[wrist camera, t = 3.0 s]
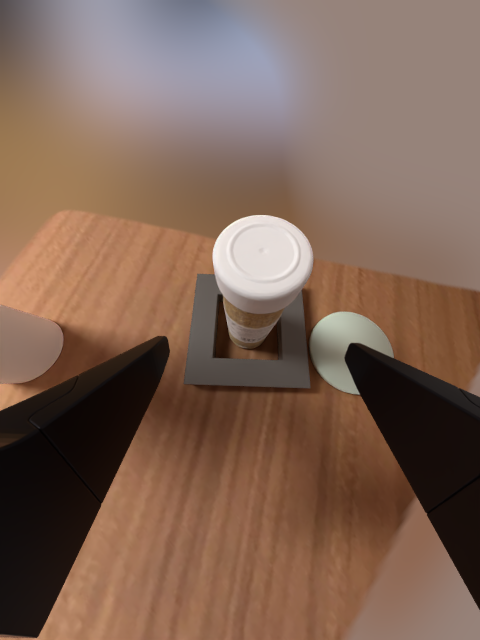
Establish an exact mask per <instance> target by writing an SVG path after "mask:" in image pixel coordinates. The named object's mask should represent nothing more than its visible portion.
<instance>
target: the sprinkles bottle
mask: <svg viewBox="0 0 480 640" xmlns="http://www.w3.org/2000/svg"><path fill="white" fill-rule="evenodd" d="M213 265H214V271H215V276H216V281H217V284H218V287H219V289H220V291H221V293H222V294H223V304H224V309H225V314H226V320H227V325H228V333H229V336H230V339H231V340H232V341H233V342H234V343H235V344H236V345H237V346H239V347H241V348H246V349H249V348H250V349H252V348H255V347H257V346H259V345H260V344H261V343H262V342H264V340H265V338H266V336H267V335H268V334H269V332H270V331H271V330H272V328H273V327H274V325H275V324H276V323H277V321H278V320H279V318H280V317H281V314H282V312H283V310H284V308H285V307H287V306H288V305H289V304H290V303H291V302H292V301H294V299H295V298H296V297H297V296H298V294H299V293H300V291H301V290H302V288H303V287H304V285H305V284H306V282H307V280H308V279H309V277H310V274H311V272H312V268H313V252H312V248H311V246H310V243H309V241H308V239H307V238H306V236H305V235H304V234H303V233H302V232H301V231H300V230H299V229H298V228H297V227H296V226H294V225H293V224H291V223H289V222H288V221H286V220H283V219H280V218H277V217H273V216H267V215H255V216H249V217H245V218H242V219H239V220H237V221H235V222H234V223H232V224H230V225H229V226H228V227H227V228H225V229H224V231H223V232H222V233H221V234H220V235H219V237H218V239H217V240H216V243H215V246H214V249H213Z"/></svg>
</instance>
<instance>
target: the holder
mask: <svg viewBox="0 0 480 640" xmlns="http://www.w3.org/2000/svg"><path fill="white" fill-rule="evenodd" d="M219 302H223V294H222V293H221V291H220V289H219V287H218V284H217V281H216V276H215V275H214V274H197V281H196V289H195V297H194V305H193V313H192V321H191V329H190V337H189V345H188V353H187V361H186V369H185V377H184V384H197V385H227V386H257V387H287V388H310V377H309V365H308V354H307V343H306V332H305V320H304V309H303V298H302V290H301V291H300V293H299V294H298V296H297V297H296V298H295V299H294V301H292V302H291V303H290V304H289V305H288V306H287V307H285V308H284V310H283V312H282V314H281V317H280V318H279V320H278V321H277V337H278V360H257V359H227V358H215V350H216V337H217V324H218V311H219Z"/></svg>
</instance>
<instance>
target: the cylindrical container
mask: <svg viewBox="0 0 480 640" xmlns="http://www.w3.org/2000/svg"><path fill="white" fill-rule="evenodd" d="M63 341H64V339H63V333H62V330H61V328H60V327H59V325H57V324H56V323H55V322H53V321H51V320H49V319H46V318H43V317H39V316H36V315H33V314H30V313H26V312H23V311H20V310H17V309H13V308H10V307H7V306H4V305H0V384H10V383H24V382H28V381H31V380H33V379H35V378H37V377H39V376H41V375H42V374H43V373H45V372H46V371H47V370H48V369H49V368H50V367H51V366H52V365H53V364H54V363H55V361H56V360H57V359H58V357H59V355H60V353H61V350H62V347H63Z"/></svg>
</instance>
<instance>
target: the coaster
mask: <svg viewBox="0 0 480 640" xmlns="http://www.w3.org/2000/svg"><path fill="white" fill-rule="evenodd" d="M350 343H361V344H363V345H365V346H368V347H370V348H372V349H374V350H377V351H379V352H381V353H383V354H385V355H388V356H390V357H392V358H394V355H393V350H392V347H391V344H390V342H389V340H388V338H387V337H386V335H385V334H384V332H383V331H382V330H381V329H380V328H379V327H378V326H377V325H376V324H375V323H374V322H372V321H371V320H369V319H368V318H366V317H364V316H362V315H359V314H356V313H352V312H337V313H333V314H330V315H328V316H326V317H325V318H323V319H322V320H320V321H319V322H318V323H317V324H316V325H315V327H314V328H313V330H312V332H311V335H310V339H309V353H310V357H311V361H312V363H313V365H314V367H315V369H316V371H317V372H318V373H319V375H320V376H321V377H322V378H323V379H324V380H325V381H326V382H327V383H328V384H330V385H331V386H333V387H334V388H336V389H338V390H340V391H343V392H346V393H350V394H359V395H360V393H359V392H358V390H357V388H356V385H355V383H354V381H353V379H352V376H351V374H350V372H349V369H348V367H347V365H346V362H345V359H344V357H345V354H346V351H347V348H348V346H349V344H350Z"/></svg>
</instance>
